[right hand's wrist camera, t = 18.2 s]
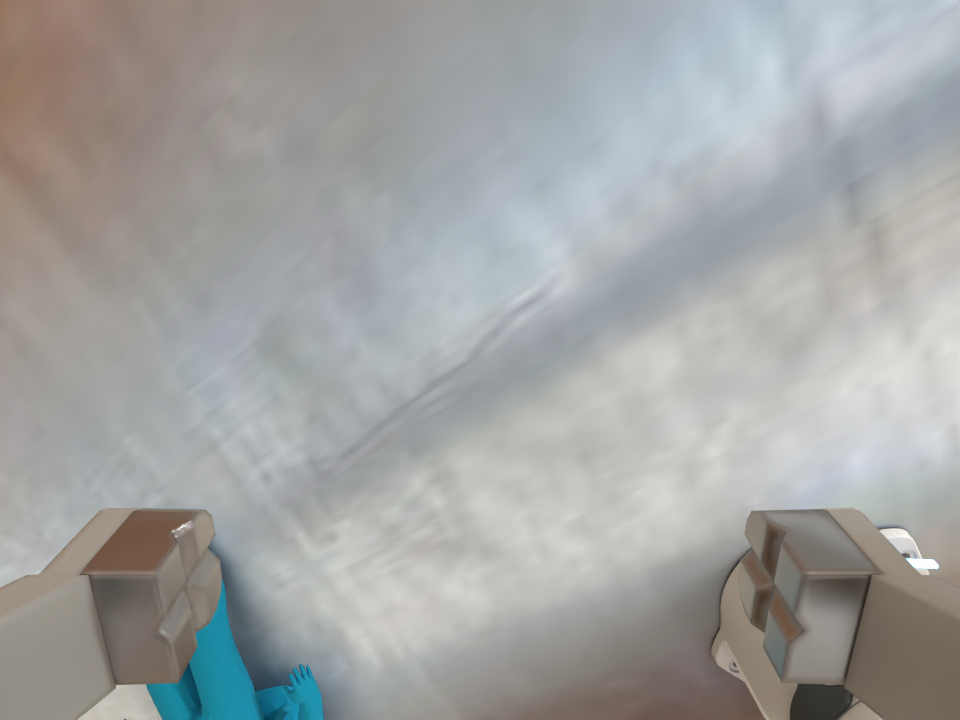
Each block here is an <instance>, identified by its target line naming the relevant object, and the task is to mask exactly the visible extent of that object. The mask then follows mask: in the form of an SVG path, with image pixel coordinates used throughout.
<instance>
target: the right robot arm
mask: <svg viewBox="0 0 960 720" xmlns="http://www.w3.org/2000/svg"><path fill="white" fill-rule="evenodd" d="M214 536H215V530H214V525H213V520H212V516H211V515H210V514H209V513H208V512H207V511H206V510H194V509H145V508H142V509H138V508H109V509H104V510H100V511H99V512H98V513H97V514H96V515H95V516H94V517H93V518H92V519H91V520H90V521H89V522H88V524H87V525H86V526H85V527H84V528H83V529H82V530H81V531H80V532H79V533H78V534H77V535H76V536H75V537H74V538H73V539H72V540H71V541H70V542H69V543H68V545H67V546H66V547H65V548H64V549H63V550H62V551H61V552H60V553H59V554H58V555H57V556H56V557H55V558H54V559H53V560H52V561H51V562H50V563H49V564H48V566H47V567H46V568H45V569H44V570H43V571H42V572H41V573H40V574H39V575H26V576H24V577H22V578H20V579H18V580H16V581H14V582H11V583H9V584H7V585H5V586H3V587H1V588H0V720H77V719H78V718H80V717H81V716H82V715H83V714H85V713H86V712H87V711H88V710H89V709H91V708H92V707H93V706H94V705H96V704H97V703H98V702H99V701H101V700H102V699H103V698H104V697H105V696H107V695H108V694H109V693H110V692H112V691H113V690H114V689H115V688H116V686H115V685H129V684H163V683H179V681H180V679H181V677H182V675H183V673H184V671H185V669H186V667H187V666H188V664H189V662H190V660H191V658H192V656H193V654H194V652H195V650H196V649H197V647H198V646H197V640H196V635H195V633H197V632H198V631H199V630H201V629H202V628H204V627H205V626H207V625H208V624H210V622H211V620H212V618H213V616H214V614H215V612H216V610H217V606H218V602H219V597H220V593H221V580H222V573H221V566H220V559H219V558H218V557H217V556H216V555H215V554H214V553H213V552H212V551H211V550H210V549H209V548H208V546H209V544H210V543H211V541H212V539H213V538H214ZM745 536H746V538H747V539H748V541H749V543H750V544H751V546H752V548H751V549H750V550H749V551H748V552H747V553H746V554H745V555H744V556H743V557H742V558H741V559H740V562H739V564H738V565H737V566H736V567H735V569H734V570H733V571H732V573H731V575H730V576H729V578H728V580H727V582H726V584H725V587H724V590H723V593H722V597H721V604H720V613H721V625H720V630H719V632H718V633H717V636H716V638H715V640H714V642H713V645H712V648H711V655H712V657H713V658H714V660H715V662H716V663H717V665H718V666H720V667H721V668H722V669H724V670H726V671H727V672H729V673H730V674H732V675H734V676H735V677H737V678H738V679H740V680H742V681H743V682H745V683H746V685H747V687H748V689H749V690H750V692H751V694H752V696H753V698H754V700H755V702H756V703H757V705H758V707H759V709H760V711H761V713H762V714H763V716H764V718H765V719H766V720H960V588H959V587H957V586H955V585H953V584H951V583H949V582H946V581H944V580H942V579H940V578H938V577H936V576H934V575H930V574H929V572H928V570H927V568H933V569H937V568H938V566H939V565H938V564H937V563H936V562H935V561H934V560H927V559H922V557H921V555H920V552H919V550H918V548H917V546H916V544H915V542H914V540H913V539H912V538H911V536H910V535H909V534H908V533H907V532H906V531H905V530H903V529H898V528H891V529H881V530H878V529H877V528H876V527H875V526H874V524H873V523H872V522H871V521H870V520H869V519H868V518H867V517H866V516H865V515H864V514H863V513H862V512H861V511H859V510H856V509H854V508H831V509H811V510H766V511H751V513H750V515H749V517H748V519H747V523H746V529H745ZM903 553H904V554H903ZM902 554H903V555H902Z"/></svg>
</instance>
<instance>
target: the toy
mask: <svg viewBox="0 0 960 720" xmlns="http://www.w3.org/2000/svg"><path fill="white" fill-rule="evenodd" d="M195 635H196V640H197V646H198V647H197V649H196V650H195V652H194V654H193V656H192V658H191V660H190V662H189V664H188V666H187V667H186V669H185V671H184V673H183V675H182V677H181V679H180V681H179V683H163V684H146V685H147V689H148V691H149V693H150V695H151V697H152V699H153V702H154V704H155V706H156V708H157V710H158V712H159V714H160V716H161V718H162V719H163V720H324V715H323V706H322V698H321V692H320V691H319V688H318V686H317V683H316V681H315V679H314V677H313V675H312V673H311V670H310V668H309V666H308V665H307V666H306V670H307V673H306V671H305V669H304V666H303V665H302V664H300V665H299V668H300V671H301V675H302V676H301V675H300V673H299V672H298V670H297V669H296V668H293V671H294V674H295V676H296V679H297V680H296V679H295V677H294V676H293V675H292V674H289V678H290V680H291V682H292V685H293V687H292V686H289V685H281V686H274V687H270V688H266V689H262V690H258V691H255V689H254V686H253V683H252V681H251V678H250V676H249V674H248V672H247V670H246V667H245V665H244V663H243V661H242V659H241V656H240V654H239V652H238V650H237V648H236V645H235V641H234V638H233V635H232V632H231V629H230V625H229V619H228V614H227V607H226V593H225V586H224V582H223V580H221V593H220V597H219V602H218V606H217V610H216V612H215V614H214V616H213V618H212V620H211V622H210V624H208V625H207V626H205V627H204V628H202V629H201V630H199V631H198V632H197V633H195ZM124 720H126V719H124Z"/></svg>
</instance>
